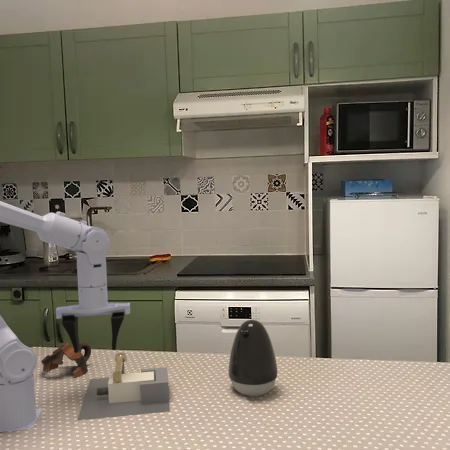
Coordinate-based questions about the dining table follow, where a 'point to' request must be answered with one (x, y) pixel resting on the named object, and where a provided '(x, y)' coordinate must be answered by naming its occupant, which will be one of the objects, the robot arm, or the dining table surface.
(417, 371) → the dining table surface
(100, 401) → the socket
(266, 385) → the pump dispenser
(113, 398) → the plug
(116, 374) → the brass ball-knob lever
